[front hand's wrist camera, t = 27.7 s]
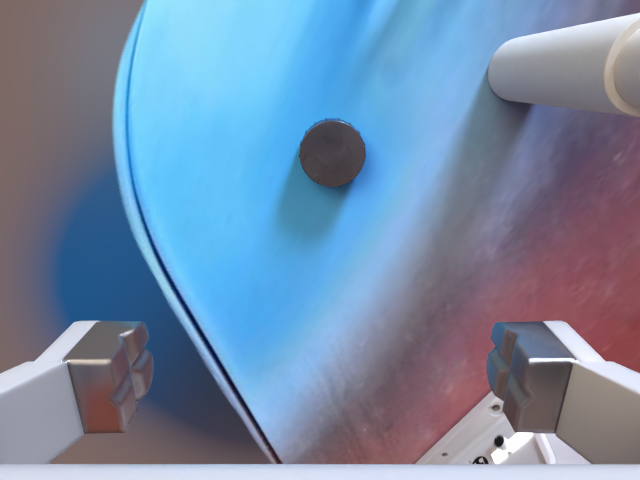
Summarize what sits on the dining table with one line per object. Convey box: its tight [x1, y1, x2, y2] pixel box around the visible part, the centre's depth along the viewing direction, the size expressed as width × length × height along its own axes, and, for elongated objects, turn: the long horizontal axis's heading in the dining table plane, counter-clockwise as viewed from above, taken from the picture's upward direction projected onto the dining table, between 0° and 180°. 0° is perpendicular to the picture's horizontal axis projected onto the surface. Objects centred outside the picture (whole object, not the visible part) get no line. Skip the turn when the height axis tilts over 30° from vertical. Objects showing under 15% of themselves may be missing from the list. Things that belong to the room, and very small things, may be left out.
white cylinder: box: [488, 13, 640, 117], centre depth 26 cm, size 5×5×17 cm
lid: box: [299, 118, 366, 187], centre depth 35 cm, size 5×5×2 cm
